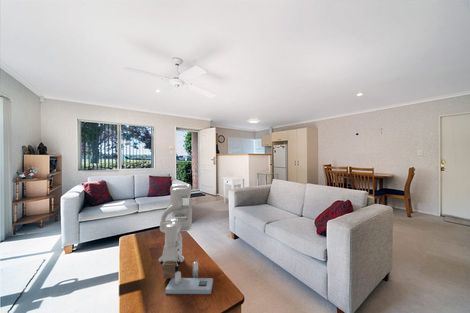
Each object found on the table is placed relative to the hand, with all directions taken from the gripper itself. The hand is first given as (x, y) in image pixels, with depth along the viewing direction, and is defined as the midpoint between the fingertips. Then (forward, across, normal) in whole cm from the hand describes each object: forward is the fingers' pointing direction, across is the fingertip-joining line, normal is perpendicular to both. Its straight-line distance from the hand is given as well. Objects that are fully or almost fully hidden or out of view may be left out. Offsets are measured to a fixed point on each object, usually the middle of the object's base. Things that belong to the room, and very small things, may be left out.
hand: (170, 271), depth 118 cm
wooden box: (+2, 0, 0) cm, 2 cm away
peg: (+4, -16, 0) cm, 17 cm away
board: (+5, -15, +9) cm, 18 cm away
